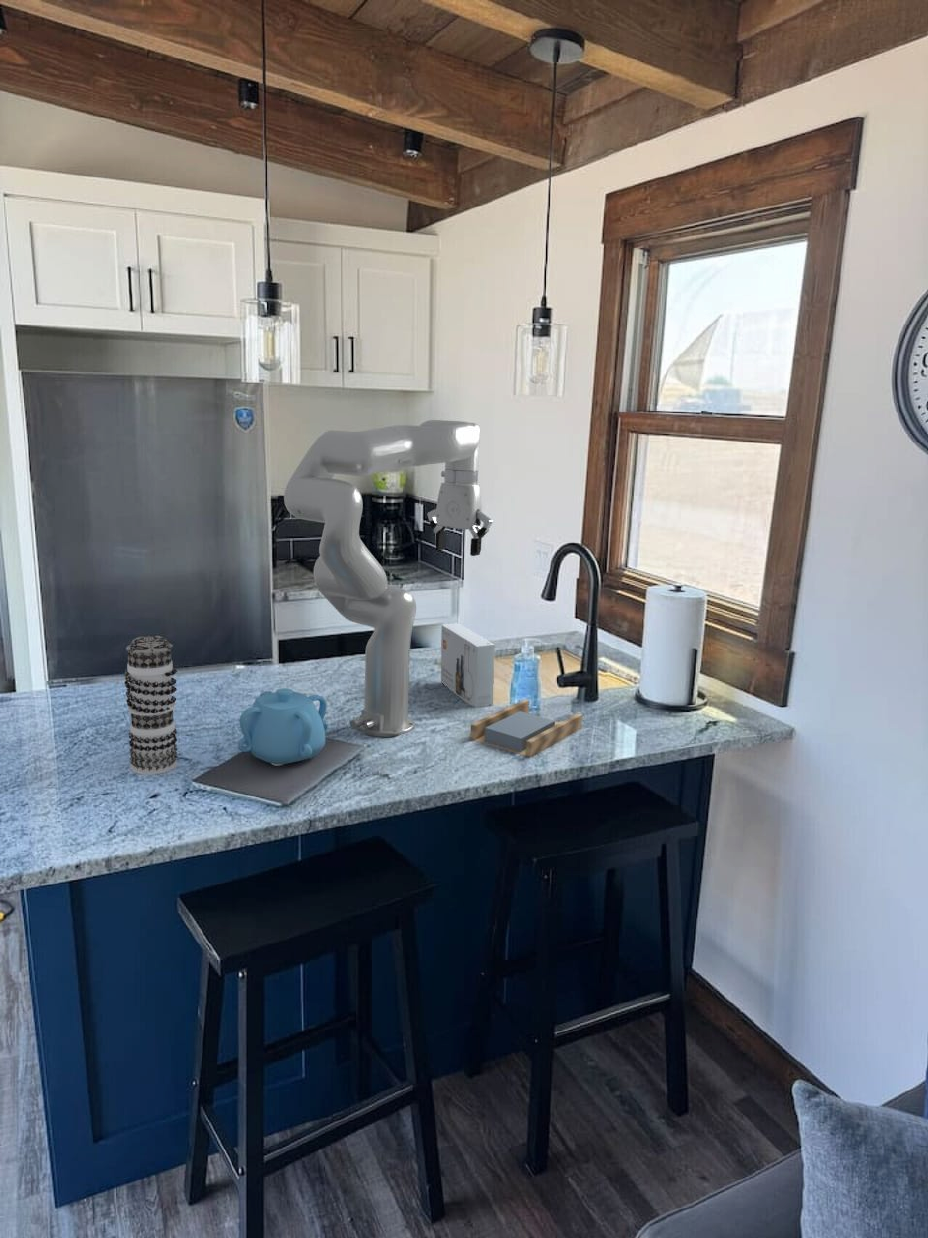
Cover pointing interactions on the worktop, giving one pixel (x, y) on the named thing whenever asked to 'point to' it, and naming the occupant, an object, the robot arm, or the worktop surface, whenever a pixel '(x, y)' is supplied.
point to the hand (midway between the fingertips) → (457, 552)
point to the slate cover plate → (517, 730)
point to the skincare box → (467, 664)
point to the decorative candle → (151, 705)
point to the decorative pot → (283, 727)
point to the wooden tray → (533, 744)
